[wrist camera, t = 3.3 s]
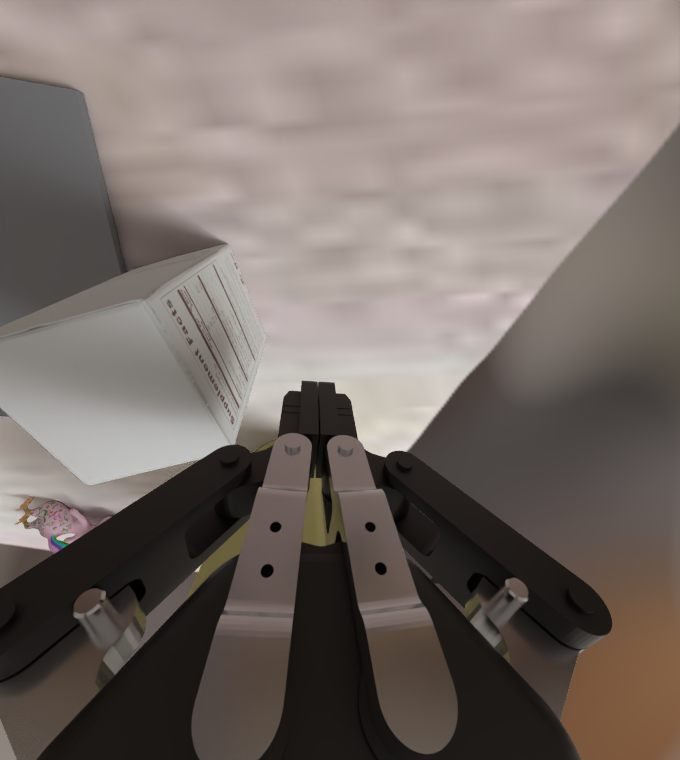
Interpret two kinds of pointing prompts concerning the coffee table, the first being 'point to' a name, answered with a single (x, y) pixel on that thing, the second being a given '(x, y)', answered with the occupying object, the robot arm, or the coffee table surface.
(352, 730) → the robot arm
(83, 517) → the pink unicorn figurine
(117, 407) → the supplement box
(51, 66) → the coffee table surface
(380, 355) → the coffee table surface
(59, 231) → the mat
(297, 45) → the coffee table surface
